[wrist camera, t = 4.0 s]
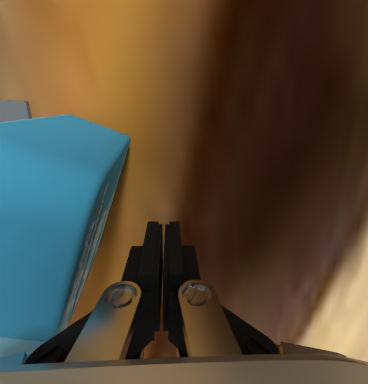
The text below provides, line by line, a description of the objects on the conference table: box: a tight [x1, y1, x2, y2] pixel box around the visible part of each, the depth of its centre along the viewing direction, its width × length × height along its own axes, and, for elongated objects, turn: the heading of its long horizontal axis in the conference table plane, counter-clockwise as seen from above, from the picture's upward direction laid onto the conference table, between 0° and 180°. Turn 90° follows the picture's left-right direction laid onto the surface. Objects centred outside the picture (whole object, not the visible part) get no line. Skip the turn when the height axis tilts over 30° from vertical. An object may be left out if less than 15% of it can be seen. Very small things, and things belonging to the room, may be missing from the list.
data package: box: [0, 114, 130, 358], centre depth 13 cm, size 12×4×12 cm, turn 158°
